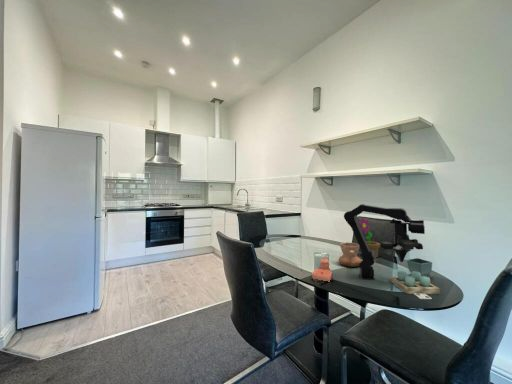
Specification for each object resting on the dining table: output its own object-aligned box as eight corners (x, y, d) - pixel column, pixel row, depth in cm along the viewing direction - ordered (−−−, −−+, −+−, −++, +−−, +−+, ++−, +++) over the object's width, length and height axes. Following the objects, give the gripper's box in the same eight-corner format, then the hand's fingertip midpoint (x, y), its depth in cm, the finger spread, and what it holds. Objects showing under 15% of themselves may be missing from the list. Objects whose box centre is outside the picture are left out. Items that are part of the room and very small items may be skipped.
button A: (400, 281, 115) (400, 273, 115) (396, 278, 119) (395, 271, 119) (408, 281, 115) (408, 273, 115) (404, 278, 119) (403, 271, 119)
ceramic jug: (365, 269, 140) (364, 247, 141) (340, 268, 143) (340, 246, 144) (358, 261, 158) (357, 241, 158) (336, 260, 161) (336, 241, 161)
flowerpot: (355, 254, 174) (354, 216, 175) (371, 253, 177) (370, 215, 177) (368, 259, 160) (366, 218, 161) (385, 258, 163) (384, 217, 163)
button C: (414, 281, 114) (414, 273, 114) (410, 278, 118) (409, 271, 118) (422, 281, 114) (422, 273, 114) (418, 278, 118) (417, 271, 118)
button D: (423, 287, 107) (423, 279, 108) (418, 284, 111) (418, 276, 111) (432, 287, 107) (432, 279, 107) (426, 284, 111) (426, 276, 111)
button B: (408, 287, 108) (407, 278, 108) (403, 283, 112) (403, 275, 112) (416, 287, 108) (416, 279, 108) (411, 283, 112) (411, 275, 112)
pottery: (329, 283, 121) (329, 265, 121) (312, 281, 125) (311, 263, 125) (333, 272, 137) (333, 256, 137) (318, 270, 141) (317, 255, 141)
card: (420, 298, 101) (420, 297, 101) (413, 294, 106) (413, 293, 106) (432, 299, 100) (432, 298, 100) (424, 294, 105) (424, 293, 105)
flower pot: (421, 280, 121) (420, 263, 122) (406, 274, 130) (406, 259, 130) (433, 278, 124) (432, 262, 124) (418, 273, 132) (417, 257, 132)
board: (406, 293, 106) (406, 288, 106) (390, 281, 121) (390, 276, 121) (440, 293, 105) (439, 288, 105) (419, 281, 120) (419, 276, 120)
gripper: (389, 235, 110) (390, 266, 110) (429, 234, 108) (430, 266, 108) (379, 231, 121) (380, 260, 121) (415, 231, 119) (416, 260, 119)
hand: (401, 261), depth 117 cm, fingers closed
